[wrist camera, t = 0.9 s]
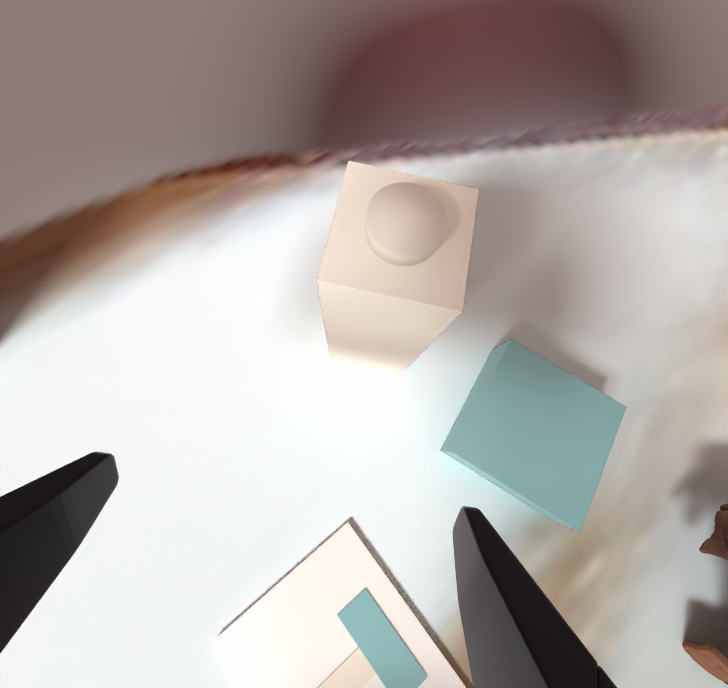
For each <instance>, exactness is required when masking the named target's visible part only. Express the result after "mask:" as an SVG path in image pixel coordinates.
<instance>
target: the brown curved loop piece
mask: <svg viewBox="0 0 728 688" xmlns="http://www.w3.org/2000/svg"><path fill="white" fill-rule="evenodd" d="M720 510H721V511H718V512H717V513H716V516H715V529H714V532H713V534H712V535H711V537H710V538H709V539H707V540H706V541H705V542H704V543H703V544H702V546H701V547H700V549H699V550H700V552H702V553H708V554H713V555H716V556H719V557H722V558H724V559H726V560H728V504H724V505H721V507H720ZM683 647H684V649H685V651H686V652H687V653H688V654H689V655H690V656H691V657H692V658H693V659H694V660H695V661H696V662H697V663H698V664H699V665H700V666H702V667H703V668H704V669H705V670H706V671H708V672H709V673H711V674H712V675H714V676H715V677H716V678H718V679H720V680H722V681H723V682H724V683H726V684H728V657H727V656H726V655H725V654H724V653H723V652H721V651H720V650H719V649H718V648H717V647H716V646H714V645H711V644H709V645H702V646H699V645H696V644H694V643H690V642H684V643H683Z"/></svg>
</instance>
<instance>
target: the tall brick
mask: <svg viewBox="0 0 728 688" xmlns="http://www.w3.org/2000/svg"><path fill="white" fill-rule="evenodd" d="M478 193H479V189H475V188H471V187H466V186H461V185H457V184H452V183H448V182H443V181H439V180H434V179H430V178H425V177H420V176H416V175H411V174H407V173H402V172H398V171H393V170H388V169H384V168H379V167H375V166H370V165H366V164H361V163H357V162H352V161H348V165H347V169H346V173H345V176H344V180H343V184H342V188H341V191H340V195H339V199H338V202H337V206H336V210H335V214H334V217H333V221H332V225H331V229H330V232H329V236H328V240H327V243H326V247H325V251H324V255H323V258H322V262H321V266H320V270H319V273H318V277H317V284H318V290H319V296H320V302H321V308H322V314H323V321H324V327H325V333H326V339H327V345H328V351H329V357H330V363H331V365H332V366H337V367H341V368H346V369H351V370H355V371H360V372H365V373H369V374H374V375H379V376H383V377H388V378H393V379H397V378H398V377H399V376H400V375H401V374H402V373H403V372H404V371H405V370H406V369H407V367H408V366H409V365H410V364H411V363H412V362H413V361H414V360H415V359H416V358H417V357H418V356H419V355H420V354H421V353H422V352H423V351H424V350H425V349H426V348H427V347H428V346H429V345H430V344H431V343H432V342H433V341H434V340H435V339H436V338H437V337H438V336H439V335H440V334H441V333H442V332H443V331H444V330H445V329H446V328H447V327H448V326H449V325H450V324H451V323H452V322H453V321H454V320H455V319H456V318H457V317H458V316H459V315H460V314H461V313H462V312H463V305H464V298H465V290H466V283H467V275H468V268H469V260H470V253H471V245H472V238H473V230H474V223H475V215H476V208H477V200H478Z"/></svg>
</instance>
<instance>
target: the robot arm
mask: <svg viewBox="0 0 728 688" xmlns="http://www.w3.org/2000/svg"><path fill="white" fill-rule="evenodd" d="M118 478H119V476H118V471H117V467H116V462H115V458H114V456H113V455H112V454H110V453H103V452H93V453H90V454H88V455H86V456H84V457H82V458H80V459H78V460H76V461H73V462H71V463H69V464H67V465H65V466H63V467H61V468H59V469H57V470H55V471H53V472H51V473H49V474H47V475H44V476H42V477H40V478H38V479H36V480H34V481H32V482H30V483H28V484H26V485H24V486H22V487H20V488H18V489H16V490H13V491H11V492H9V493H7V494H5V495H3V496H1V497H0V653H1V652H2V651H3V649H4V648H5V646H6V645H7V644H8V642H9V641H10V640H11V638H12V637H13V636H14V634H15V633H16V632H17V630H18V629H19V628H20V626H21V625H22V623H23V622H24V621H25V619H26V618H27V617H28V615H29V614H30V613H31V611H32V610H33V609H34V607H35V606H36V604H37V603H38V602H39V600H40V599H41V598H42V596H43V595H44V594H45V592H46V591H47V590H48V588H49V587H50V586H51V584H52V583H53V581H54V580H55V579H56V577H57V576H58V575H59V573H60V572H61V571H62V569H63V568H64V567H65V565H66V564H67V563H68V561H69V560H70V558H71V557H72V556H73V554H74V553H75V551H76V550H77V549H78V547H79V546H80V544H81V543H82V541H83V539H84V538H85V536H86V535H87V533H88V531H89V530H90V528H91V527H92V525H93V523H94V522H95V520H96V518H97V517H98V515H99V513H100V512H101V510H102V509H103V507H104V505H105V504H106V502H107V500H108V499H109V497H110V496H111V494H112V492H113V491H114V489H115V487H116V485H117V483H118ZM453 545H454V557H455V569H456V581H457V592H458V602H459V608H460V615H461V620H462V626H463V631H464V637H465V642H466V648H467V653H468V659H469V664H470V670H471V676H472V681H473V687H474V688H617V687H616V686H615V685H614V683H613V682H612V681H611V679H610V678H609V677H608V675H607V674H606V673H605V672H604V670H603V669H602V668H601V667H600V666H598V665H597V662H596V660H595V659H594V658H593V656H592V655H591V654H590V652H589V651H588V650H587V648H586V647H585V646H584V645H583V643H582V642H581V641H580V639H579V638H578V637H577V635H576V634H575V633H574V632H573V630H572V629H571V628H570V626H569V625H568V624H567V622H566V621H565V620H564V619H563V617H562V616H561V615H560V613H559V612H558V611H557V609H556V608H555V607H554V606H553V604H552V603H551V602H550V600H549V599H548V598H547V596H546V595H545V594H544V593H543V591H542V590H541V589H540V587H539V586H538V585H537V584H536V582H535V581H534V580H533V578H532V577H531V576H530V574H529V573H528V572H527V571H526V569H525V568H524V567H523V565H522V564H521V563H520V561H519V560H518V559H517V558H516V556H515V555H514V554H513V552H512V551H511V550H510V548H509V547H508V546H507V545H506V543H505V542H504V541H503V539H502V538H501V537H500V535H499V534H498V533H497V532H496V530H495V529H494V528H493V526H492V525H491V524H490V522H489V521H488V520H487V519H486V517H485V516H484V515H483V513H482V512H481V511H480V510H479V509H477V508H473V507H466V506H464V507H462V508H461V510H460V512H459V514H458V517H457V519H456V522H455V524H454V527H453Z"/></svg>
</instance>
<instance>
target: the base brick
mask: <svg viewBox="0 0 728 688" xmlns="http://www.w3.org/2000/svg"><path fill="white" fill-rule="evenodd" d="M625 409H626V406H624V405H622V404H621V403H619V402H617V401H616V400H614V399H612V398H610V397H609V396H607V395H605V394H604V393H602V392H600V391H599V390H597V389H595V388H593V387H592V386H590V385H588V384H587V383H585V382H583V381H581V380H580V379H578V378H576V377H575V376H573V375H571V374H570V373H568V372H566V371H564V370H563V369H561V368H559V367H558V366H556V365H554V364H553V363H551V362H549V361H547V360H546V359H544V358H542V357H541V356H539V355H537V354H536V353H534V352H532V351H530V350H529V349H527V348H525V347H524V346H522V345H520V344H518V343H517V342H515V341H513V340H512V339H510V340H509V341H507V342H505V343H503V344H501V345H500V346H498V347H496V348H494V349H493V350H492V352H491V353H490V355H489V357H488V359H487V361H486V363H485V365H484V367H483V369H482V371H481V373H480V375H479V377H478V379H477V380H476V382H475V384H474V386H473V388H472V390H471V392H470V394H469V396H468V398H467V400H466V402H465V404H464V406H463V407H462V409H461V411H460V413H459V415H458V417H457V419H456V421H455V423H454V425H453V427H452V429H451V431H450V433H449V434H448V436H447V438H446V440H445V442H444V444H443V446H442V448H441V450H440V451H442V452H444V453H445V454H447V455H448V456H450V457H452V458H453V459H455V460H456V461H458V462H460V463H461V464H463V465H464V466H466V467H468V468H469V469H471V470H472V471H474V472H476V473H477V474H479V475H480V476H482V477H483V478H485V479H487V480H488V481H490V482H491V483H493V484H495V485H496V486H498V487H499V488H501V489H503V490H504V491H506V492H507V493H509V494H511V495H512V496H514V497H515V498H517V499H519V500H520V501H522V502H523V503H525V504H526V505H528V506H530V507H531V508H533V509H534V510H536V511H538V512H539V513H541V514H542V515H544V516H546V517H547V518H549V519H550V520H552V521H555V522H557V523H560V524H562V525H565V526H567V527H570V528H572V529H574V530H577V531H579V532H580V530H581V527H582V525H583V522H584V519H585V517H586V514H587V511H588V509H589V506H590V503H591V501H592V498H593V495H594V493H595V490H596V487H597V485H598V482H599V479H600V476H601V474H602V471H603V468H604V466H605V463H606V460H607V458H608V455H609V452H610V450H611V447H612V444H613V442H614V439H615V436H616V434H617V431H618V428H619V426H620V423H621V420H622V417H623V415H624V412H625Z"/></svg>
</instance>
